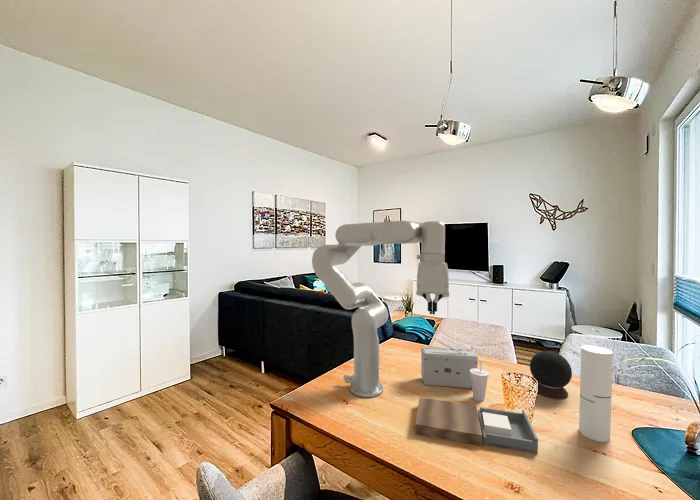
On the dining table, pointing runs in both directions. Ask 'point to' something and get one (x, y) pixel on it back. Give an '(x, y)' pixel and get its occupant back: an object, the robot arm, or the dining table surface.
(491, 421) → the tile
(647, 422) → the dining table surface
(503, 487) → the dining table surface
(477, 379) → the smoothie
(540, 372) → the round black desktop speaker
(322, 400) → the dining table surface
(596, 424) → the cylindrical container
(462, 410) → the board
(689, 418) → the dining table surface
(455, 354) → the stereo radio cassette player
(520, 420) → the tray
